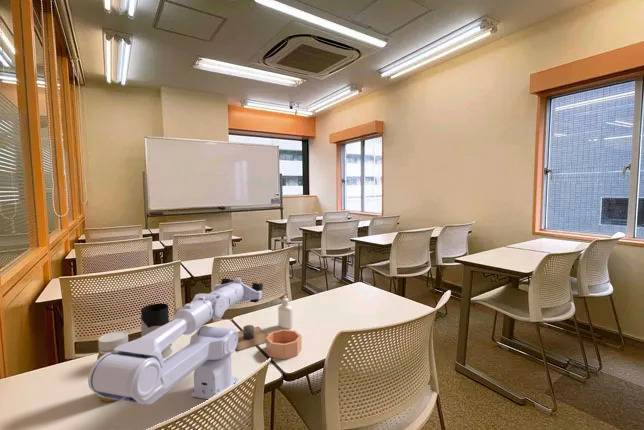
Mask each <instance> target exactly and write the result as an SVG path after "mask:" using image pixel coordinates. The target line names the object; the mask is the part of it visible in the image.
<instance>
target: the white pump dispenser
mask: <svg viewBox="0 0 644 430" xmlns="http://www.w3.org/2000/svg"><path fill="white" fill-rule="evenodd" d="M277 313H278V314H277V317H278V318H277V319H278V321H277V325H278V327H280V328H281V329H285V330H291V329H292V328H293V323H294V322H293V319H294V317H293V315H294V314H293V313H294V312H293V307H292V306H291V305H289V298H288V297H287V295H284V296H283V298H282V299H281V304H280V305H279V306H278V308H277Z"/></svg>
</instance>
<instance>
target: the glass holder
mask: <svg viewBox="0 0 644 430" xmlns="http://www.w3.org/2000/svg"><path fill="white" fill-rule="evenodd" d="M183 308H184V306H180V307H178V308H176V310H175V312H174V314H173V317H174V316H175V314H176V313H177V312H178V311H179V310H181V309H183ZM140 314H141V315H140V331H141V332H140V335H141V337H143V336H145V335H146V334H148V333H150V332H152V331H154V330H156V329H158V328H160V327H161V326H163V325H165V324H167V323H169V322H171V321H172V320H171V321H170V319H169V318H170V316H169V305H168V303H163V302H162V303H158V302H157V303H152V304H149V305H145V306H143V307H141V309H140ZM172 344H173V342H172V343H171V344H170V345H169V346H168V347H167V348H166V349H164V350H163V351H162V352H161V355H162V357H163V360H165V359H167V358H169V357H170V355H171V354H172V353H173V349H172Z"/></svg>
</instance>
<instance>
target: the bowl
mask: <svg viewBox="0 0 644 430" xmlns="http://www.w3.org/2000/svg"><path fill="white" fill-rule="evenodd" d="M265 344H266V346H265V347H266V348H265V350H266V354H268V356H269V357H270V358H271V357H273V358H272V359H278V360H289V359H291V358H294V357H298V355H299V354H300V352H301V351H302V334H300V333H299V332H298V331H297V330H295V329H294V330H292V329H284V328H282V329H278V330H274V331H272V332H270V333H269V334H268V336H267V338H266V343H265Z"/></svg>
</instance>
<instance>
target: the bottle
mask: <svg viewBox="0 0 644 430" xmlns="http://www.w3.org/2000/svg"><path fill="white" fill-rule="evenodd" d="M127 342H129V333H128V332H127V331H125V330H115V331H111V332H108V333H104V334H102V335H101V336H100V337H98V340H97V343H98V355H97V358H96V359H97V360H98V359H99V358H100V357H101V356H103V355H104V354H106V353H111V352H113V353H118V352H119V351H115V350H114V349H115V348H116V347H117V346H119V345H122V344H124V343H127ZM97 360H96V361H97ZM98 397H99V400H101V401H103V402H106V403H111V402H116V401H117V400H115V399H109V398H104V397H100V396H98Z"/></svg>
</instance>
